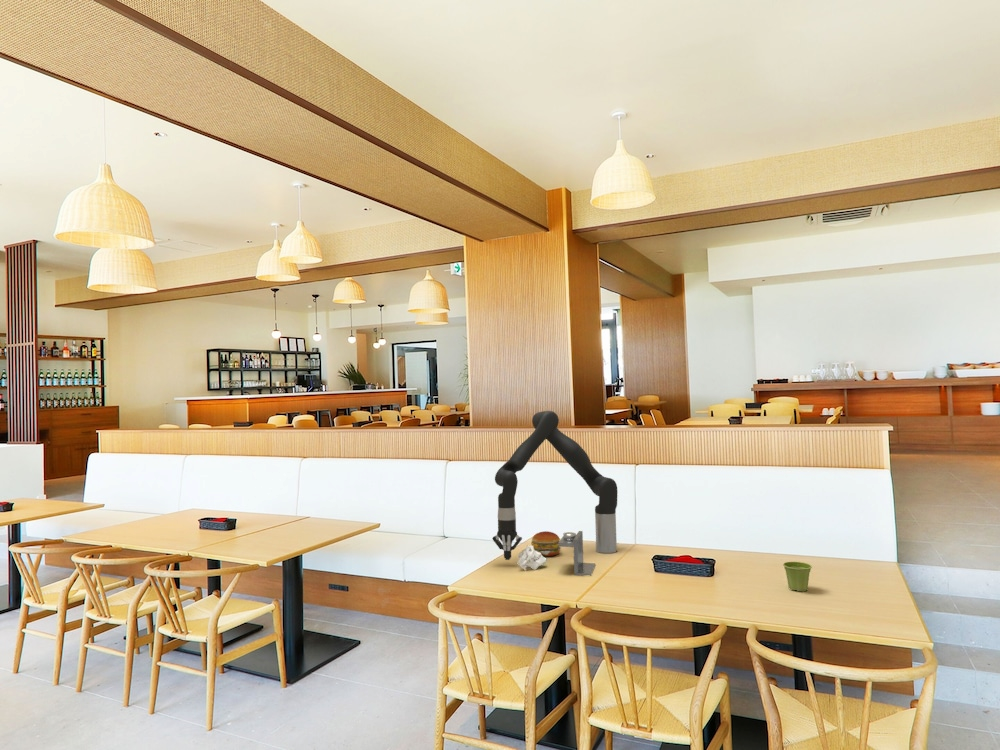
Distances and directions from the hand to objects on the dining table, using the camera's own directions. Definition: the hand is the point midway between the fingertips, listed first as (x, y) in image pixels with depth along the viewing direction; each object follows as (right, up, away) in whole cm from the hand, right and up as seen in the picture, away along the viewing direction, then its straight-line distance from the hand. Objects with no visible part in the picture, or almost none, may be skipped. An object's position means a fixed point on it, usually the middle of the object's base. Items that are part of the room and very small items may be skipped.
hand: (507, 559), depth 270 cm
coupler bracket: (+29, -2, -9) cm, 30 cm away
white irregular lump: (+10, -3, -3) cm, 11 cm away
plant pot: (+103, +1, -40) cm, 111 cm away
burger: (+17, -3, +18) cm, 25 cm away
